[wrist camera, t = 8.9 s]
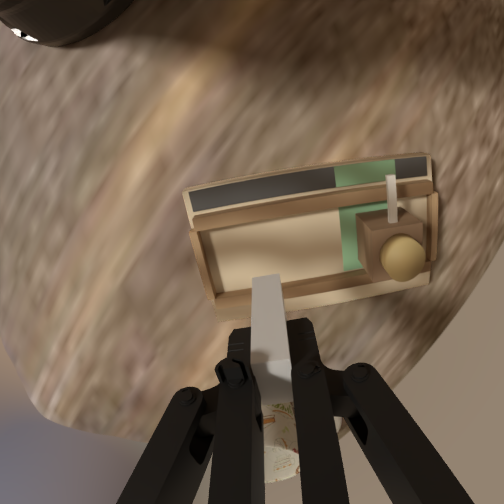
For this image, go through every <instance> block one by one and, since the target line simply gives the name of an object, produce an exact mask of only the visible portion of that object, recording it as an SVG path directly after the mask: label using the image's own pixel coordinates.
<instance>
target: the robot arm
mask: <svg viewBox="0 0 504 504" xmlns="http://www.w3.org/2000/svg"><path fill="white" fill-rule="evenodd" d="M133 1H134V0H0V21H2V22H3V23H4V24H5V25H6V26H7V27H9V28H10V29H11V30H12V31H13V32H14V33H15V34H16V35H17V36H18V37H20V38H21V39H23V40H25V41H27V42H31V43H35V44H40V45H45V46H62V45H67V44H71V43H74V42H77V41H79V40H82V39H84V38H86V37H88V36H90V35H92V34H94V33H95V32H97V31H99V30H100V29H102V28H103V27H105V26H106V25H108V24H109V23H110V22H111V21H113V20H114V19H115V18H116V17H118V16H119V15H120V14H121V13H122V12H123V11H124V10H125V9H126V8H127V7H128V6H129V5H130V4H131V3H132V2H133ZM215 372H216V375H217V377H218V379H219V382H220V383H219V384H218V385H217V386H215V387H213V388H210V389H207V390H204V391H200V390H199V389H198V388H195V387H185V388H182V389H180V390H179V391H177V392H176V393H175V395H174V396H173V398H172V399H171V401H170V403H169V405H168V407H167V409H166V411H165V413H164V414H163V416H162V418H161V420H160V422H159V424H158V426H157V428H156V429H155V431H154V433H153V435H152V437H151V439H150V441H149V443H148V445H147V447H146V448H145V450H144V452H143V454H142V456H141V458H140V460H139V461H138V463H137V465H136V467H135V469H134V471H133V473H132V475H131V477H130V478H129V480H128V482H127V484H126V486H125V488H124V490H123V492H122V494H121V495H120V497H119V499H118V501H117V503H116V504H192V503H193V500H194V498H195V496H196V493H197V491H198V488H199V486H200V483H201V481H202V478H203V476H204V473H205V471H206V468H207V465H208V463H209V461H210V458H211V455H212V453H213V457H212V467H211V478H210V488H209V499H208V504H265V473H264V421H263V413H262V409H261V402H262V405H263V406H264V405H272V404H280V403H287V402H294V411H295V422H296V432H297V443H298V454H299V465H300V477H301V489H302V501H303V504H349V497H348V492H347V485H346V480H345V474H344V468H343V462H342V457H341V451H340V446H339V441H338V435H337V430H336V425H335V420H334V416H335V417H344V419H345V421H346V423H347V424H348V426H349V428H350V430H351V431H352V433H353V435H354V437H355V438H356V440H357V442H358V444H359V445H360V447H361V449H362V451H363V452H364V454H365V456H366V458H367V459H368V461H369V463H370V465H371V466H372V468H373V470H374V471H375V473H376V475H377V477H378V479H379V480H380V482H381V484H382V485H383V487H384V489H385V491H386V493H387V494H388V496H389V498H390V499H391V501H392V503H393V504H474V503H473V501H472V500H471V498H470V497H469V495H468V494H467V493H466V491H465V490H464V488H463V487H462V485H461V484H460V483H459V481H458V480H457V478H456V477H455V476H454V474H453V473H452V472H451V470H450V469H449V467H448V466H447V464H446V463H445V462H444V460H443V459H442V457H441V456H440V455H439V453H438V452H437V451H436V449H435V448H434V446H433V445H432V444H431V442H430V441H429V440H428V438H427V437H426V436H425V434H424V433H423V432H422V430H421V429H420V427H419V426H418V425H417V423H416V422H415V421H414V419H413V418H412V417H411V415H410V414H409V413H408V411H407V410H406V409H405V407H404V406H403V405H402V403H401V402H400V401H399V399H398V398H397V397H396V395H395V394H394V393H393V391H392V390H391V389H390V387H389V386H388V385H387V383H386V382H385V381H384V379H383V378H382V377H381V376H380V374H379V373H378V372H377V370H376V369H375V368H374V367H373V366H372V365H370V364H367V363H356V364H352V365H351V366H349V367H347V369H346V370H345V371H339V370H332V369H329V368H327V367H326V366H324V365H323V363H322V362H321V359H320V355H319V350H318V346H317V341H316V337H315V333H314V328H313V324H312V322H311V321H310V320H309V319H308V318H307V317H306V318H300V319H294V320H288V321H287V316H286V309H285V303H284V298H283V292H282V286H281V280H280V275H279V273H278V274H272V275H266V276H260V277H254V278H252V309H251V327H247V328H240V329H234V330H233V331H232V333H231V335H230V336H229V342H228V352H227V358H225V359H223V360H221V361H220V362H219V363H218V364H217V365H216V367H215Z"/></svg>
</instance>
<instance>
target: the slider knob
mask: <svg viewBox="0 0 504 504" xmlns="http://www.w3.org/2000/svg"><path fill="white" fill-rule="evenodd" d="M385 177H386V191H387V208H388V209H381V210H375V211H368V212H362V213H355V217H356V230H357V246H358V260H359V261H360V263H361V264H362V266H363V268H364V269H365V271H366V272H367V274H368V275H369V277H370V278H371V280H372V282H373V283H374V282H379V281H384V280H389V279H393V280H395V281H398V282H406V281H409V280H412V279H413V278H415V277H416V276H417V275H418V274H419V273H421V270H422V269H423V267H424V264H425V259H426V256H425V251H424V249H423V247H422V242H423V222H421V221H420V220H419V219H417V218H416V217H415V216H413V215H412V214H410V213H409V212H408V211H406V210H405V209H403V208H402V207H397V193H396V177H395V175H394V174H389V175H385Z"/></svg>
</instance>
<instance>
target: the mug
mask: <svg viewBox="0 0 504 504" xmlns="http://www.w3.org/2000/svg"><path fill="white" fill-rule="evenodd" d="M292 408H294V402H292V403H290V402H287V403H280V404H272V405H264V406H263V405H262V402H261V409H262V413H263V421H264V473H265V483H268V482H276V481H281V480H285V479H288V478H290V477H293V476H295V475H296V474H298V473H299V472H300V465H299V454H298V443H297V432H296V422H295V417H294V414H293V410H292ZM334 420H335V425H336V430H337V433H338V431H339V430H340V427H341V424H342V417H335V416H334Z"/></svg>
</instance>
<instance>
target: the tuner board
mask: <svg viewBox="0 0 504 504" xmlns="http://www.w3.org/2000/svg"><path fill="white" fill-rule="evenodd" d="M389 174H394V175H395V177H396V193H397V207H402V208H403V209H405V210H406V211H408V212H409V213H410V214H412V215H413V216H415V217H416V218H417V219H419V220H420V221H421V222H423V242H422V247H423V249H424V251H425V256H426V259H425V264H424V267H423V269H422V270H421V273H419V274H418V275H417V276H416V277H415V278H413V279H412V280H409V281H406V282H398V281H395V280H393V279H389V280H384V281H379V282H374V283H373V282H372V280H371V278H370V277H369V275H368V274H367V272H366V271H365V269H364V268H363V266H362V264H361V263H360V261H359V260H358V246H357V230H356V217H355V213H362V212H368V211H375V210H381V209H388V208H387V191H386V177H385V175H389ZM182 194H183V198H184V202H185V206H186V210H187V214H188V217H189V221H190V225H191V230H190V232H189V235H190V239H191V243H192V246H193V250H194V253H195V257H196V261H197V264H198V268H199V271H200V275H201V278H202V282H203V285H204V288H205V292H206V295H207V298H208V300H211V301H212V304H213V307H214V311H215V314H216V317H217V321H218V322H222V321H230V320H237V319H244V318H251V309H252V278H254V277H260V276H266V275H272V274H278V273H279V275H280V280H281V286H282V292H283V298H284V303H285V309H286V312H290V311H296V310H302V309H308V308H314V307H320V306H325V305H331V304H336V303H341V302H347V301H352V300H357V299H362V298H367V297H372V296H377V295H382V294H386V293H391V292H396V291H400V290H405V289H409V288H414V287H418V286H422V285H427V284H429V278H430V271H431V261H433V260H436V255H437V236H438V193H437V192H435V191H433V181H432V169H431V155H430V154H427V153H423V152H420V153H408V154H397V155H387V156H377V157H368V158H359V159H351V160H343V161H336V162H328V163H321V164H314V165H307V166H301V167H294V168H288V169H282V170H276V171H270V172H264V173H258V174H253V175H247V176H242V177H237V178H231V179H226V180H221V181H216V182H211V183H206V184H202V185H197V186H192V187H188V188H185V189H184V191H183V192H182Z"/></svg>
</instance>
